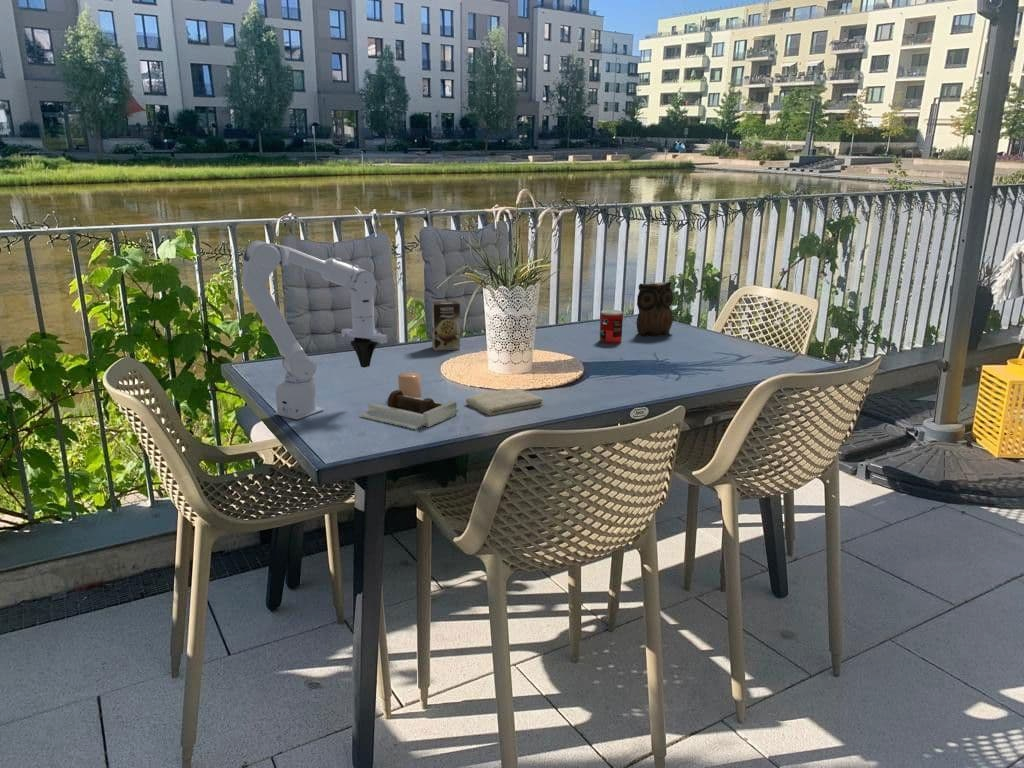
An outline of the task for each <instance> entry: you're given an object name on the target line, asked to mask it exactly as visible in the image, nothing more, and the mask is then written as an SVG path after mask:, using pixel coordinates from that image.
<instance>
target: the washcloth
mask: <svg viewBox="0 0 1024 768" xmlns="http://www.w3.org/2000/svg"><path fill="white" fill-rule="evenodd" d="M543 401H544V399H543V397H540V396H538V395H534V394H532V393H531V392H529V391H527V390H525V389H522V388H520V387H519V388H515V389H505V388H501V389H499V390H496V391H495V390H494V391H488V392H483V393H478V394H473V395H471V396H468V397H467V398H466V400H465V403H466V404H467V405H468V406H469V407H471V408H473V409H474V408H475V409H477V410H478V411H479V412H480V413H482V412H483V414H484V413H485V415H486V414H487V416H496V415H499V414H504V413H511V412H517V411H519V410H520V411H521V410H525V409H530V408H537V407H542V406H544V403H543Z"/></svg>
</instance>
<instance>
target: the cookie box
mask: <svg viewBox="0 0 1024 768" xmlns="http://www.w3.org/2000/svg"><path fill="white" fill-rule="evenodd" d="M431 344H432V345H431V347H432V349H433V351H435V352H436V351H454V350H455V351H456V350H461V304H460V302H458V301H456V300H455V301H454V300H453V301H451V300H450V301H449V300H448V301H431Z"/></svg>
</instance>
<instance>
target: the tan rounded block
mask: <svg viewBox="0 0 1024 768" xmlns="http://www.w3.org/2000/svg"><path fill="white" fill-rule="evenodd" d="M397 376H398V377H397V381H398V390H401V391H402V393H403V395H407V396H412V397H417V398H421V397H422V391H421V389H422V388H421V373H418V372H410V371H409V372H408V371H407V372H402V373H400V374H398V375H397Z"/></svg>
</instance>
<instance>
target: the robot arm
mask: <svg viewBox="0 0 1024 768" xmlns="http://www.w3.org/2000/svg"><path fill="white" fill-rule="evenodd" d="M241 257H242V276H241V277H242V278H241V284H242V287H243V289H244V291H245V293H246V295H247V296H248V298H249V300H250V302H251V303H252V305H253V307H254V309H255V311H256V312H257V314H258V315H259V317H260V319H261V320H262V323H263V324H264V326H265V328H266V330H268V332H269V334H270V336H271V339H273V341H274V344H275V345H276V346H277V348H278V353H279V354H280V356H281V365H282V367H283V369H284V370H285V371H286V373H285V376H284V381H283V382H282V383H280V384H278V385H277V387H276V388H275V389H276V390H275V397H276V412H275V415H277V416H281V417H285V418H288V419H293V420H301V419H303V418H306V417H309V416H312V415H314V414H317V413H319V412H323V411H325V408H324V407H320V406H318V405H317V394H316V381H315V374H316V371H317V365H316V362H315V360H314V359H313V358H312V357H310V356H308V355H307V354H306V353H305V350H304V349H303V348H302V346H301V344H299V342H298V340H297V339H296V337H295V336H294V334H293V332H292V330H291V329H290V327H289V325H288V323H287V321H286V319H285V318H284V316H283V313H282V312H281V310H280V308H279V307H278V305H277V304H276V303H277V302H276V301H275V300H274V298H273V296H272V295H271V294H272V293H270V291H269V289H268V287H267V284H268V280H269V279H270V276H271V274H272V273H273V272H274V271H275V270H276V269H277V268H278V266H279V265H280V266H283V267H284V266H287V265H290V264H293V265H295V266H299V267H302V268H306V269H308V270H310V271H311V270H312V271H315V272H317V273H319V274H320V275H321V278H322V279H323V280H324V281H328V282H331V283H333V284H336V285H339V286H342V287H344V288H349V289H350V306H351V326H352V327H351V328H343V329H341V331H340V332H341V337H342V338H351V339H353V340H352V341H350V345H351V347H352V348H353V349H354V351H355V353H356V356H357V358H358V361H359V365H360V367H361V368H368V367H370V366H371V361H372V357H373V353H374V351H375V349H376V346H377V345H378V343H379V344H380V345H381V344H382V345H383V344H387V343H388V335H387V334H383V333H380V332H377V329H376V327H375V307H374V305H375V303H374V300H375V299H374V290H375V288H376V286H377V283H378V281H377V280H376V279H375V276H374V275H373V273H372V272H370V271H369V270H366V269H362V268H361V267H359V265H357V264H355V263H354V264H353V265H352V264H350V263H346V262H344V261H342V258H340V257H337V256H336V257H330V258H327V259H325V260H322V259H319V258H317V257H315V256H313V255H310V254H307V253H304V252H302V251H300V250H297V249H295V248H293V247H292V248H291V247H290V246H286V245H282V244H276V243H274V242H273V243H272V242H269V243H267V242H266V241H264V240H261V239H260V240H258V239H257V240H256V239H255V240H253V241H251V242H250V243H248V244H247V246H246V248H245V249H244V252H243V254H242V256H241Z"/></svg>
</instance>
